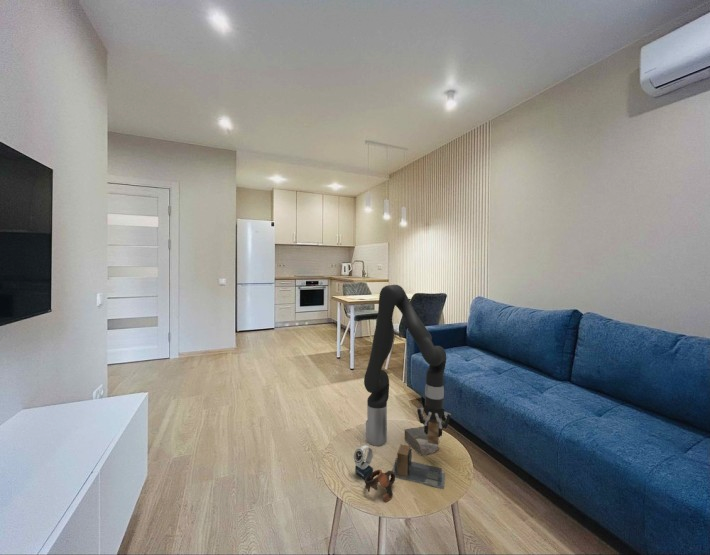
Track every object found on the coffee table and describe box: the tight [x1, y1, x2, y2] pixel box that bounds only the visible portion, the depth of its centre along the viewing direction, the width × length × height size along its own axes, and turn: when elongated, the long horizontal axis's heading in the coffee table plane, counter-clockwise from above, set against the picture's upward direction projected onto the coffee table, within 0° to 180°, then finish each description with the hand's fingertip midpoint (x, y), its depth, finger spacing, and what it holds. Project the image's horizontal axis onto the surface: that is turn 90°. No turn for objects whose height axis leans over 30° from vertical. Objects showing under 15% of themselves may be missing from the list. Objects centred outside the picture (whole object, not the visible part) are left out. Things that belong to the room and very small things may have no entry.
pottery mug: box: [363, 469, 396, 503], centre depth 109 cm, size 12×10×8 cm
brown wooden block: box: [427, 419, 439, 446], centre depth 125 cm, size 5×6×8 cm
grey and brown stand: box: [391, 443, 446, 490], centre depth 117 cm, size 20×8×9 cm, turn 69°
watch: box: [353, 444, 374, 481], centre depth 117 cm, size 6×8×11 cm
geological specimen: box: [403, 426, 440, 457], centre depth 138 cm, size 11×6×15 cm
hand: (433, 434), depth 125 cm, fingers closed on brown wooden block, 4 cm apart
